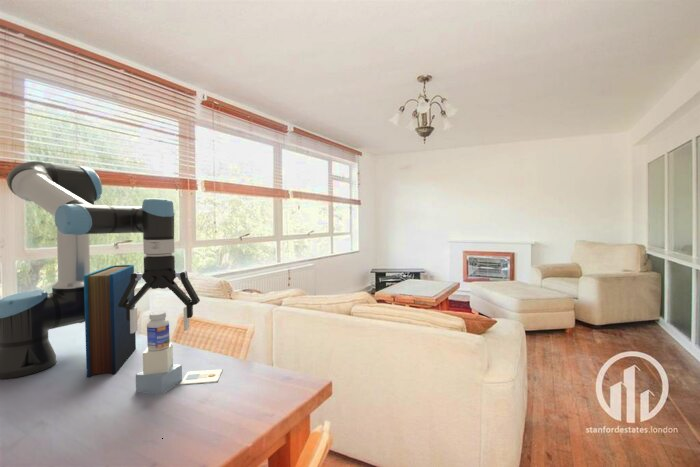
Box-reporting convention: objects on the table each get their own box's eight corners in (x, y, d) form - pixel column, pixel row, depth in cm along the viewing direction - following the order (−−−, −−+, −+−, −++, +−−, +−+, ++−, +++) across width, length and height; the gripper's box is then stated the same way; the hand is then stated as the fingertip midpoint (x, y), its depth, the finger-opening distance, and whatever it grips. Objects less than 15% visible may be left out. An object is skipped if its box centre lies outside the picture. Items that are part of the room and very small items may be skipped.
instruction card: (179, 384, 97) (179, 383, 97) (187, 372, 105) (187, 371, 105) (217, 382, 99) (217, 380, 99) (222, 370, 107) (222, 368, 106)
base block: (135, 392, 93) (135, 374, 93) (157, 379, 101) (157, 362, 101) (161, 395, 92) (161, 377, 91) (182, 381, 99) (181, 364, 99)
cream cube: (143, 374, 93) (142, 352, 92) (149, 365, 98) (149, 344, 98) (167, 372, 94) (167, 350, 94) (173, 363, 100) (172, 342, 100)
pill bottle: (159, 352, 93) (158, 316, 92) (142, 350, 94) (141, 315, 94) (174, 344, 98) (173, 311, 98) (158, 343, 100) (157, 309, 99)
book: (110, 349, 124) (107, 265, 123) (138, 346, 127) (136, 264, 125) (81, 378, 101) (77, 275, 100) (115, 374, 104) (112, 274, 102)
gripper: (102, 256, 90) (104, 337, 91) (203, 255, 94) (204, 332, 95) (116, 254, 97) (117, 328, 98) (209, 252, 102) (210, 324, 102)
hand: (160, 330), depth 96 cm, fingers open, 13 cm apart
